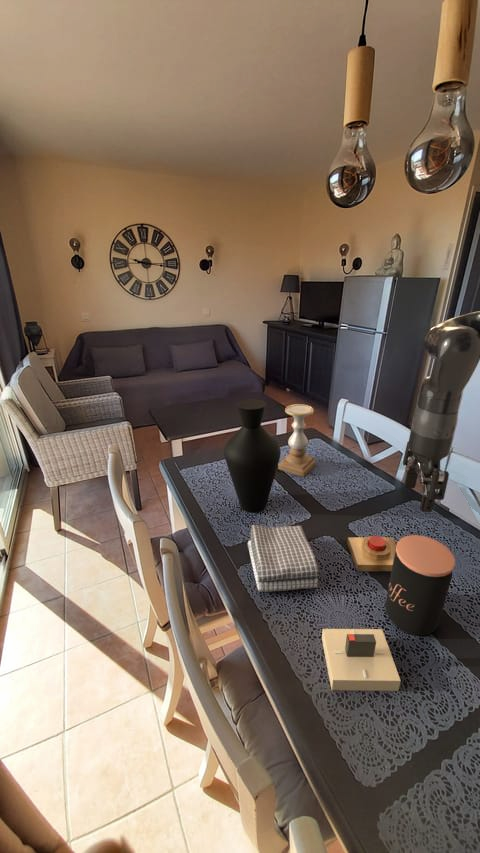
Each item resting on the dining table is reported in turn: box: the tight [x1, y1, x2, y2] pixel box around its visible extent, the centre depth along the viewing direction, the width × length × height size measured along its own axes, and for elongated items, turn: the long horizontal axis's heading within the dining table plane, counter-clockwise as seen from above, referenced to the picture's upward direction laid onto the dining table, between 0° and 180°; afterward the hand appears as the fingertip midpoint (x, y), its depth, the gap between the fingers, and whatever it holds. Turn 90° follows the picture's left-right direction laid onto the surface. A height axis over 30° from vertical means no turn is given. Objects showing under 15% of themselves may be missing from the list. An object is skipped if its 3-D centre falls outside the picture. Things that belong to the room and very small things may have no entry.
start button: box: [368, 535, 386, 551], centre depth 93 cm, size 4×4×2 cm
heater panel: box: [321, 628, 401, 692], centre depth 69 cm, size 12×10×3 cm
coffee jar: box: [384, 534, 456, 637], centre depth 75 cm, size 11×11×18 cm
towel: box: [247, 524, 320, 593], centre depth 92 cm, size 15×18×8 cm
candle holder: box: [277, 403, 317, 478], centre depth 134 cm, size 11×11×24 cm
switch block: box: [347, 535, 397, 572], centre depth 94 cm, size 12×10×4 cm
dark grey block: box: [345, 634, 376, 657], centre depth 68 cm, size 5×2×4 cm, turn 88°
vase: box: [223, 398, 282, 514], centre depth 110 cm, size 17×17×35 cm
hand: (416, 498), depth 77 cm, fingers open, 8 cm apart
